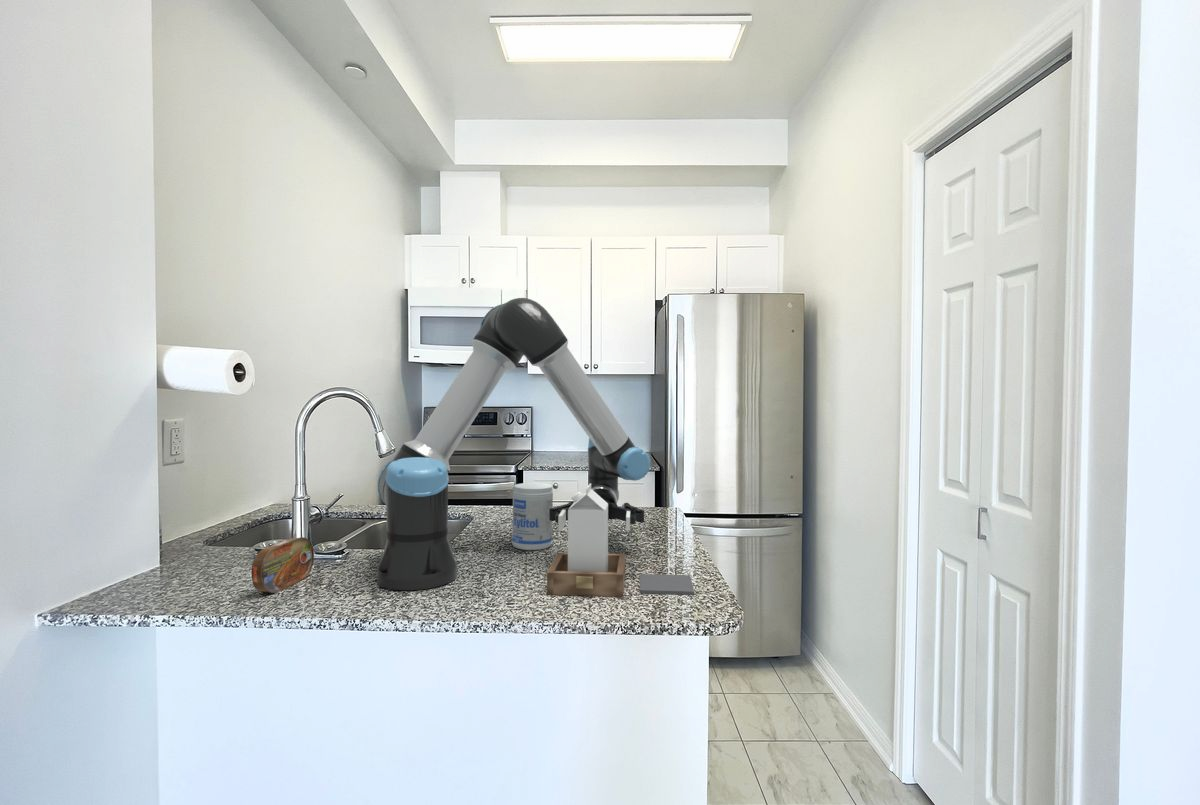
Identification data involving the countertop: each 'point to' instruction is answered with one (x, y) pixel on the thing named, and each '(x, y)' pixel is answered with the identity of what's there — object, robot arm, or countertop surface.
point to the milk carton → (588, 533)
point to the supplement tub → (532, 516)
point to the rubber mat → (666, 584)
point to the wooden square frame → (586, 578)
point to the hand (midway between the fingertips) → (593, 523)
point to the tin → (282, 565)
